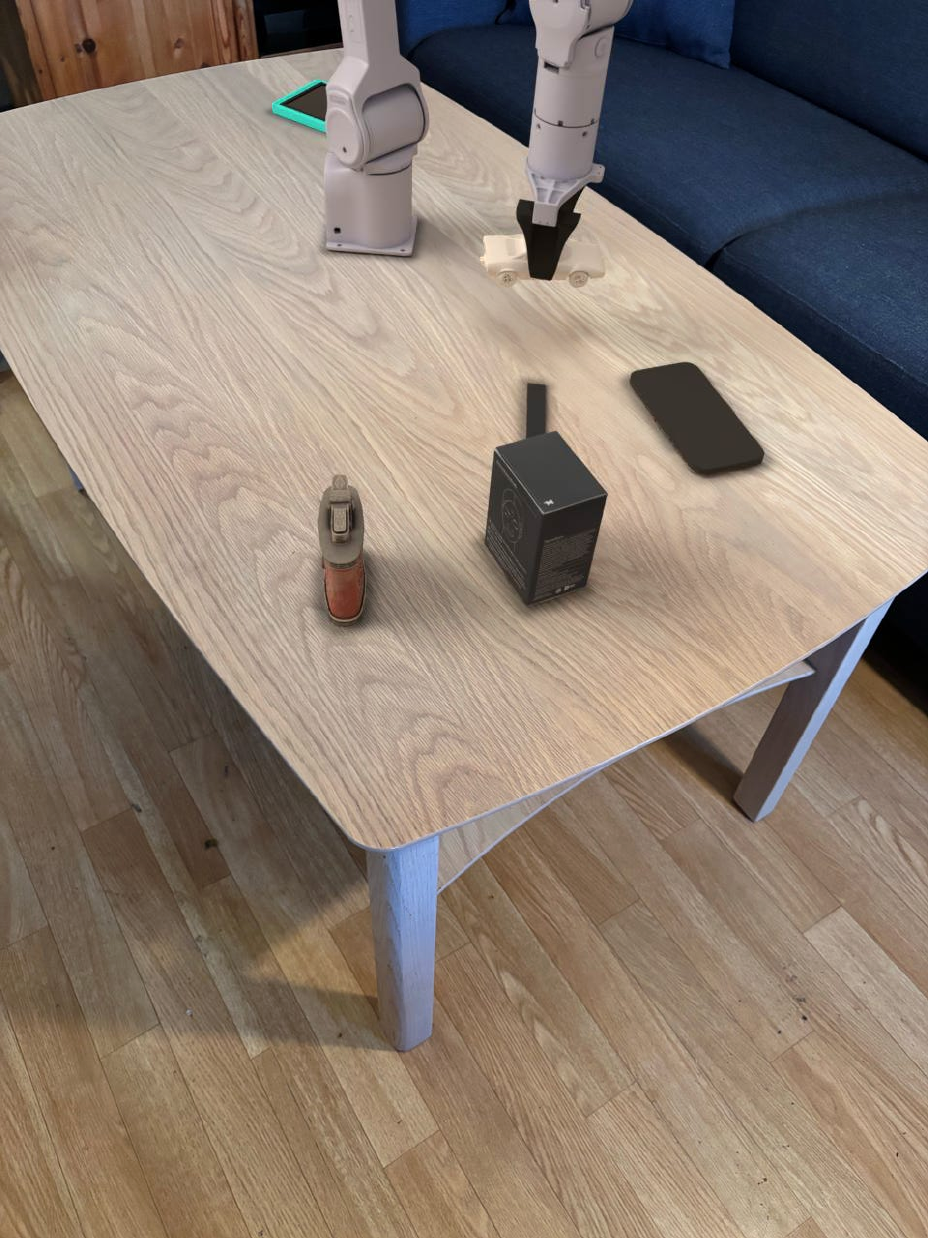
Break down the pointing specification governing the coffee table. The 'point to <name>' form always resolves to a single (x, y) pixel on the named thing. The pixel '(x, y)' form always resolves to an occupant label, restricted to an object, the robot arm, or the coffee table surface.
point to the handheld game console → (305, 105)
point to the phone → (696, 418)
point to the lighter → (342, 552)
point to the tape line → (536, 410)
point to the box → (543, 516)
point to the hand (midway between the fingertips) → (546, 258)
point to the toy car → (511, 260)
